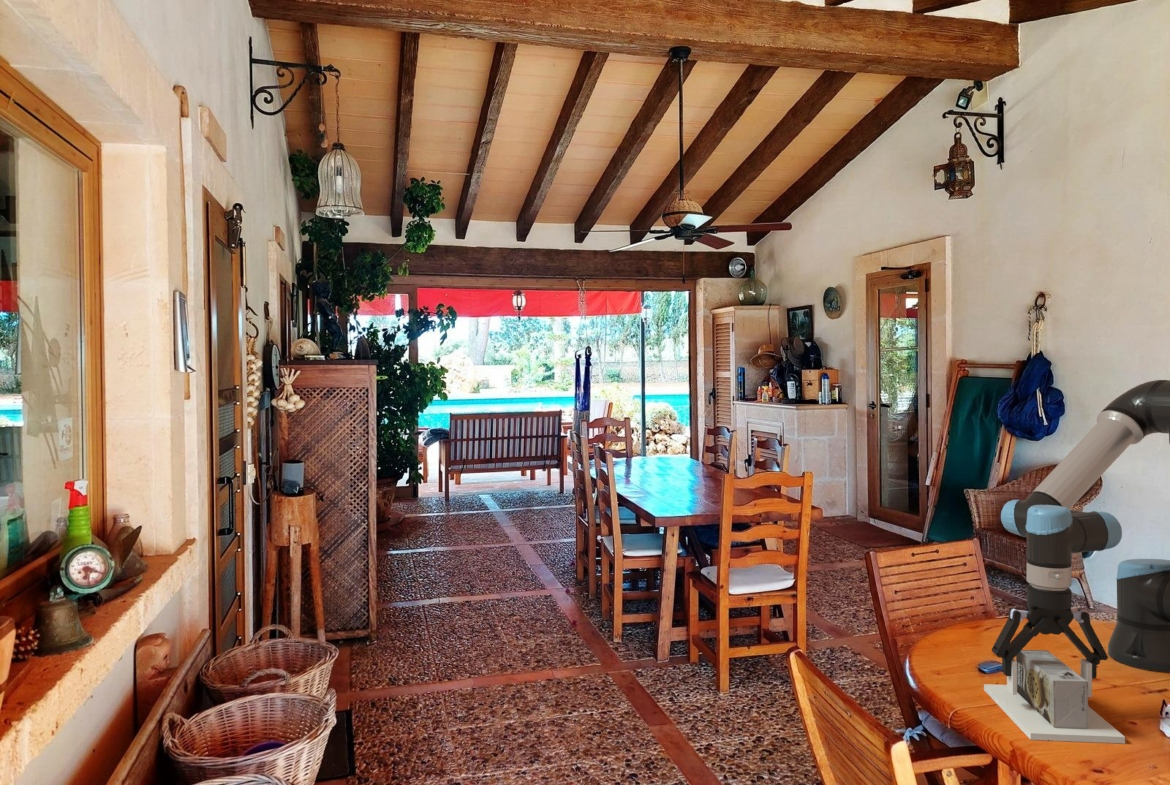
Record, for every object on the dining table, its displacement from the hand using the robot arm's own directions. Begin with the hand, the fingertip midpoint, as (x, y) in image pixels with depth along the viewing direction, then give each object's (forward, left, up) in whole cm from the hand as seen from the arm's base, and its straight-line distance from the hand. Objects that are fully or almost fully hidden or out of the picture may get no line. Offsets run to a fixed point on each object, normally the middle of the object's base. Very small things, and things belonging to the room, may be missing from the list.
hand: (1048, 693), depth 150 cm
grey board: (0, 0, -4) cm, 4 cm away
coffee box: (0, +9, +2) cm, 9 cm away
